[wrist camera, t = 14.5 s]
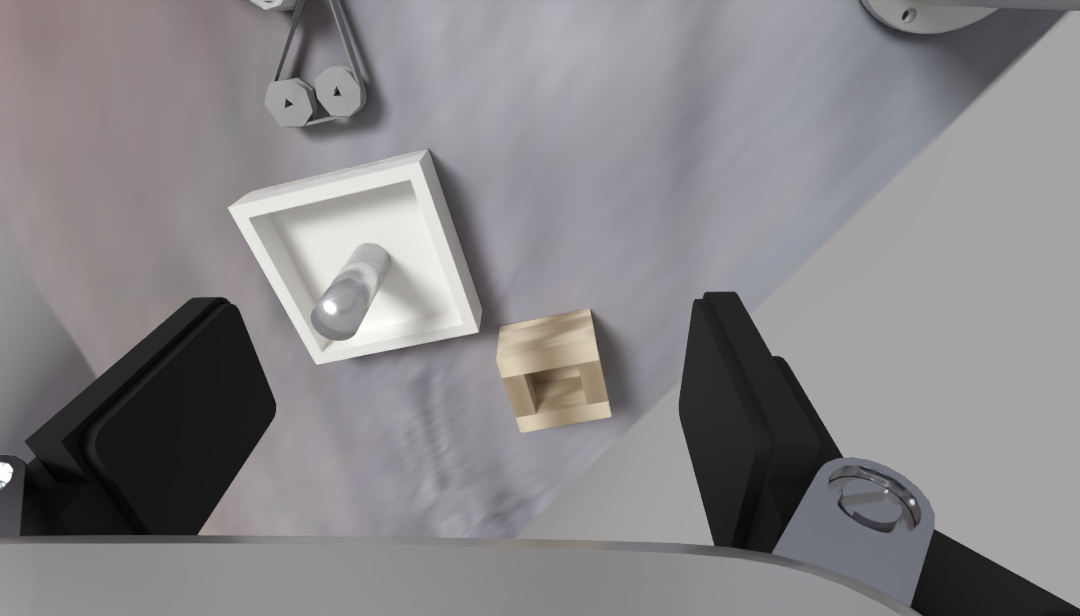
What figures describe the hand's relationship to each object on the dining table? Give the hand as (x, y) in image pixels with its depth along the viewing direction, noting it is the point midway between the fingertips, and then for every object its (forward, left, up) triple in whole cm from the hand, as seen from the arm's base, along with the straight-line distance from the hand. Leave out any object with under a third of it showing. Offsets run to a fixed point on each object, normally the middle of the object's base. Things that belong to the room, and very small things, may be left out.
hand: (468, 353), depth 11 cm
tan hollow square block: (+2, +22, -30) cm, 37 cm away
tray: (+14, +9, -30) cm, 34 cm away
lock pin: (+14, +9, -29) cm, 33 cm away
